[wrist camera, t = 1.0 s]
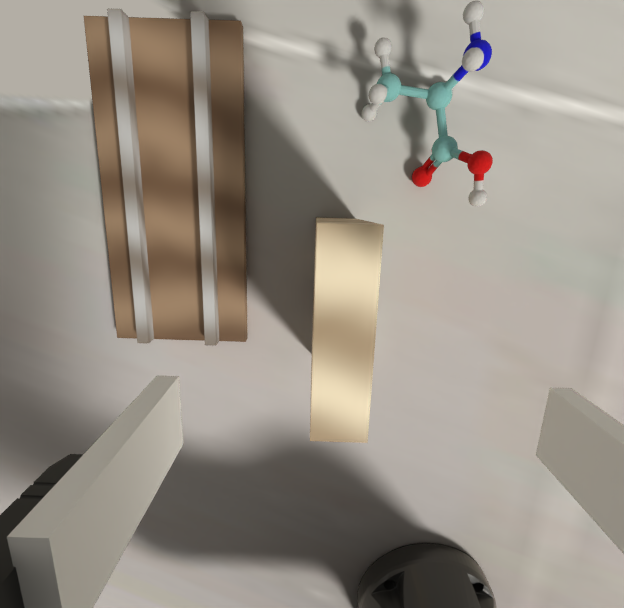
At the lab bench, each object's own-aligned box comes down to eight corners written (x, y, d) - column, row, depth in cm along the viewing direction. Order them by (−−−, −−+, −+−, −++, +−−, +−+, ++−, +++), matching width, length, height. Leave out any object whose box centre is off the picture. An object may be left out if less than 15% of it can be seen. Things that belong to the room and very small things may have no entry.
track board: (247, 338, 36) (242, 346, 34) (122, 334, 36) (110, 342, 34) (243, 26, 29) (237, 12, 27) (91, 22, 29) (73, 7, 27)
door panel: (347, 355, 36) (367, 442, 23) (311, 354, 36) (310, 441, 23) (355, 218, 33) (383, 225, 20) (316, 217, 33) (316, 222, 20)
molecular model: (312, 147, 28) (408, 60, 19) (355, 57, 31) (457, -56, 22) (417, 230, 33) (534, 191, 24) (446, 145, 36) (560, 82, 27)
